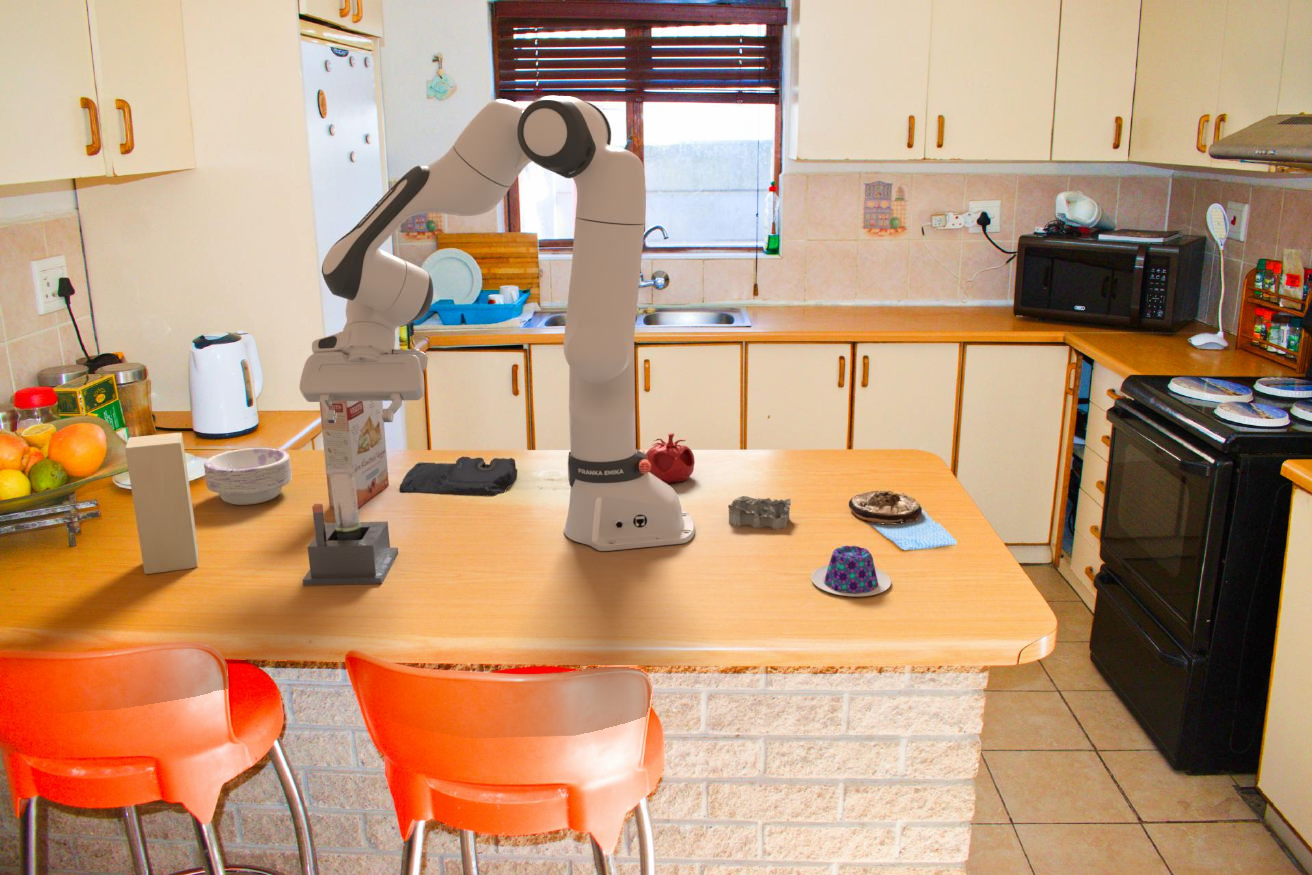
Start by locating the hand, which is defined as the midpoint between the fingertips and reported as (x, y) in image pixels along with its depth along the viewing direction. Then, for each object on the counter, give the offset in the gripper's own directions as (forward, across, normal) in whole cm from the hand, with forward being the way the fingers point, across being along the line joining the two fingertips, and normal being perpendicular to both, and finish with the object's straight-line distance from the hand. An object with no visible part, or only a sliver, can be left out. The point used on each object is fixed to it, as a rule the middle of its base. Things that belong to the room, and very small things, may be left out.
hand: (358, 421), depth 172 cm
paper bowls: (-1, +28, -31) cm, 42 cm away
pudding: (+30, -78, 0) cm, 84 cm away
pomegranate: (-5, -52, -35) cm, 63 cm away
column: (+23, 0, -5) cm, 23 cm away
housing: (+24, 0, -6) cm, 24 cm away
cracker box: (0, +7, -30) cm, 31 cm away
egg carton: (+12, -67, -18) cm, 71 cm away
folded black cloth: (-5, -11, -36) cm, 38 cm away
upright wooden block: (+21, +30, -9) cm, 38 cm away
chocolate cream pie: (+10, -90, -20) cm, 93 cm away
